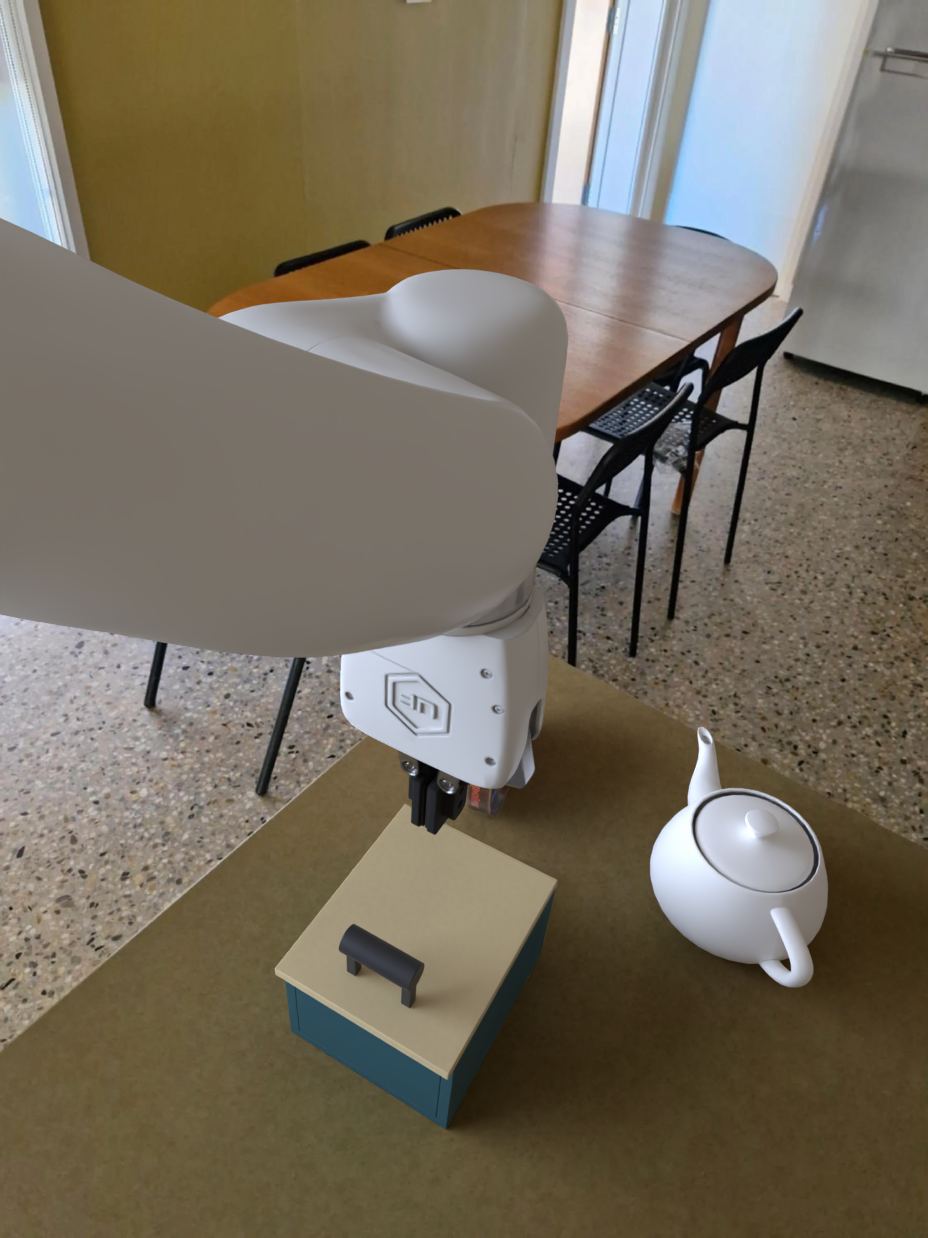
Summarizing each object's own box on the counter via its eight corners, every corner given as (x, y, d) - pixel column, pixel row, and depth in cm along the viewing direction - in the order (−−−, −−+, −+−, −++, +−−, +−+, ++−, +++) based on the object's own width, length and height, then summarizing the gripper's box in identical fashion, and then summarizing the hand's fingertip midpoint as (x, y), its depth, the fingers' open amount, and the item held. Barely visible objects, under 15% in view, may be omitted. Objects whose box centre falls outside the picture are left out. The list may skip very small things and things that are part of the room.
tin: (490, 836, 76) (499, 771, 71) (455, 825, 77) (462, 760, 72) (536, 719, 87) (547, 656, 82) (505, 711, 88) (514, 647, 83)
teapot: (863, 1015, 66) (920, 936, 59) (689, 1036, 64) (727, 956, 57) (748, 785, 83) (782, 703, 76) (607, 795, 81) (629, 712, 74)
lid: (447, 1081, 52) (453, 1040, 49) (275, 975, 56) (269, 931, 53) (556, 886, 63) (566, 843, 59) (404, 810, 67) (406, 765, 64)
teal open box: (446, 1130, 58) (454, 1069, 52) (290, 1031, 62) (283, 965, 57) (541, 953, 68) (556, 887, 63) (401, 879, 72) (404, 810, 67)
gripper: (272, 545, 41) (294, 802, 52) (570, 667, 35) (521, 921, 47) (364, 476, 46) (366, 723, 57) (636, 574, 41) (577, 823, 52)
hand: (436, 812), depth 52 cm, fingers closed
